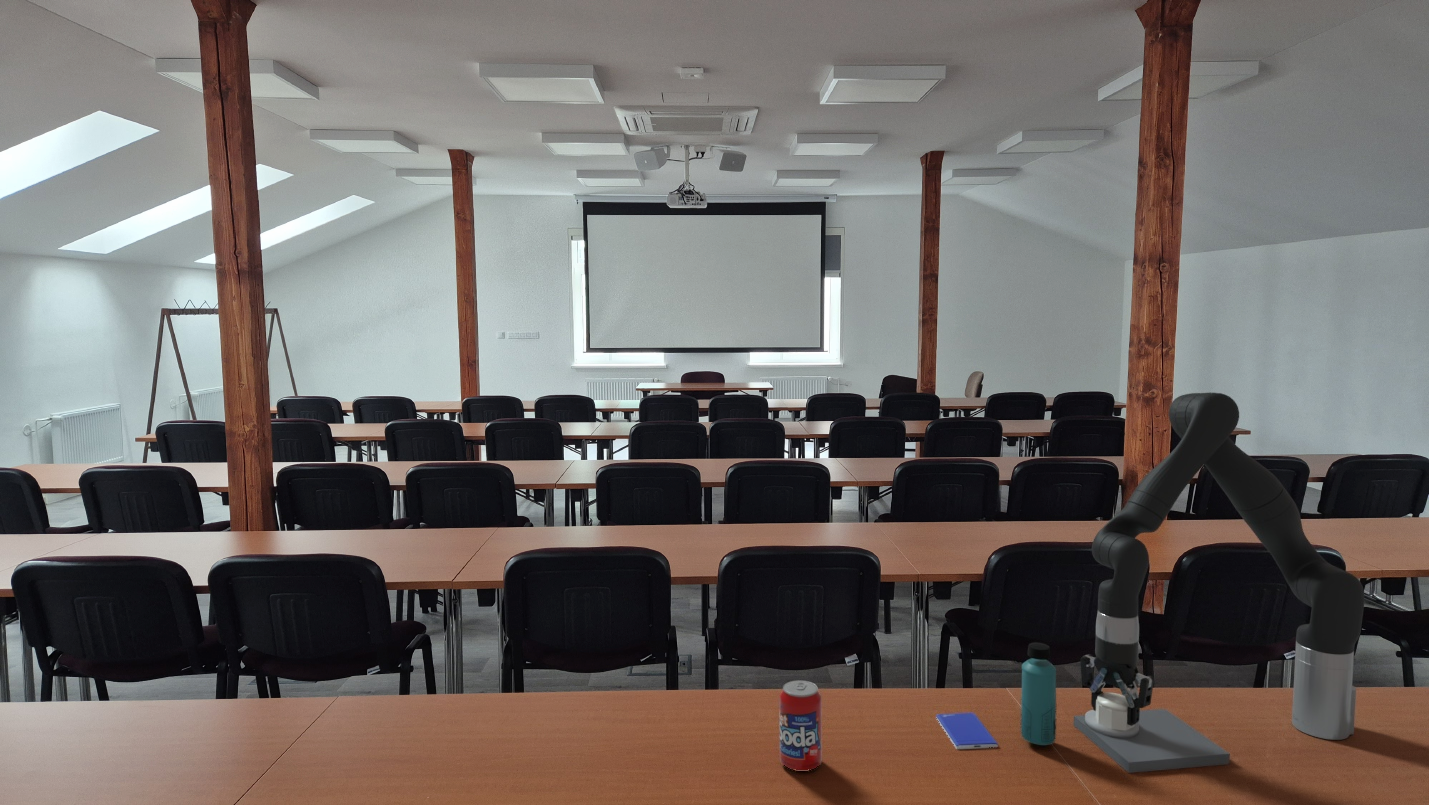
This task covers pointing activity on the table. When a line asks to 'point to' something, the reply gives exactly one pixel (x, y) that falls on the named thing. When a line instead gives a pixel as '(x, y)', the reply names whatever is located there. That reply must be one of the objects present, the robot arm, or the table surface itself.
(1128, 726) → the cap
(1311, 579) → the robot arm
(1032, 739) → the beverage bottle
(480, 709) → the table surface
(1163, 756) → the threaded post stand
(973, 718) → the hard drive
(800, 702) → the soda can
